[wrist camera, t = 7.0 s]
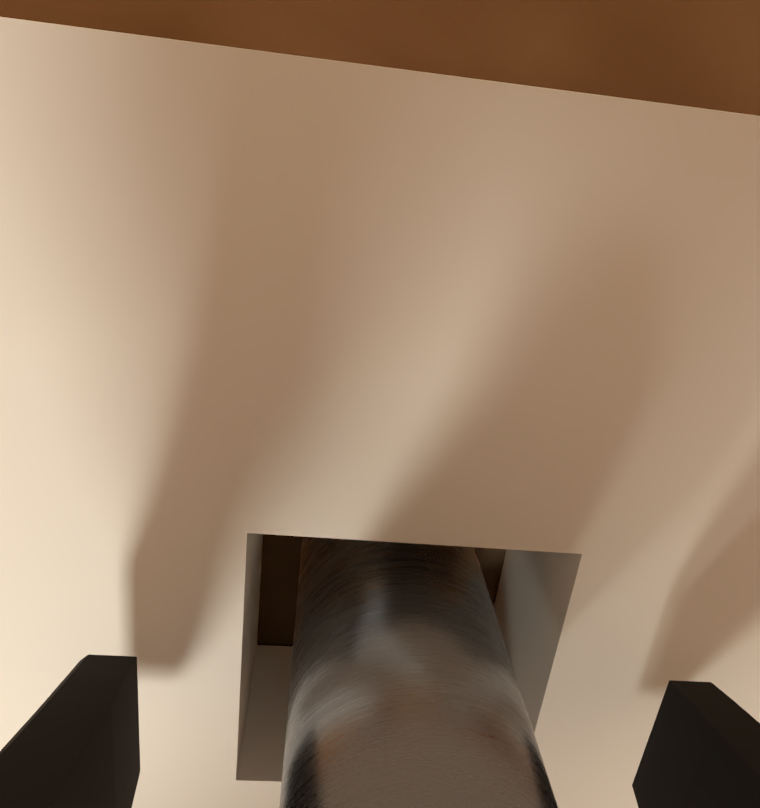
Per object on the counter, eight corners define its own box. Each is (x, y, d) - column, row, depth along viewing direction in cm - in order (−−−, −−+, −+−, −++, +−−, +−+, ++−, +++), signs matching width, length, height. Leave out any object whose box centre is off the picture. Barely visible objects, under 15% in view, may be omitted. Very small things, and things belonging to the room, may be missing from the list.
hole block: (671, 847, 17) (738, 992, 14) (-14, 834, 15) (-93, 994, 12) (951, 157, 11) (1171, 169, 8) (-142, 17, 9) (-355, -30, 6)
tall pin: (456, 623, 14) (598, 1223, 6) (296, 614, 13) (243, 1235, 6) (483, 482, 12) (702, 1020, 5) (307, 470, 12) (260, 1022, 5)
